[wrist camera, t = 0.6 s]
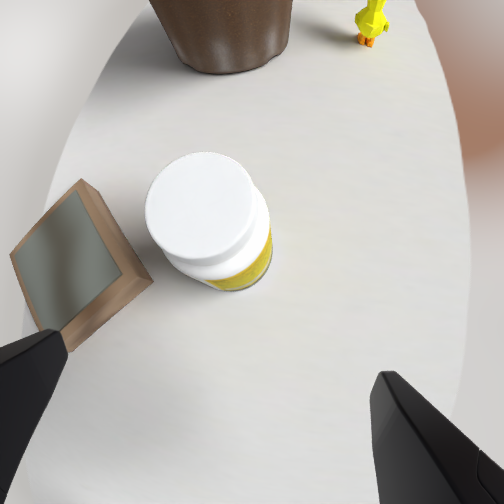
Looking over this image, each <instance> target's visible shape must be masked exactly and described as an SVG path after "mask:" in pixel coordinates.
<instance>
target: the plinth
mask: <svg viewBox="0 0 504 504" xmlns="http://www.w3.org/2000/svg"><path fill="white" fill-rule="evenodd" d="M10 258H11V261H12V264H13V267H14V270H15V273H16V276H17V279H18V281H19V284H20V287H21V289H22V292H23V294H24V297H25V300H26V302H27V304H28V307H29V309H30V312H31V314H32V316H33V318H34V321H35V323H36V325H37V327H38V329H39V332H40V331H43V330H45V329H48V328H51V329H54V330H58V331H59V332H60V333H61V334H62V337H63V340H64V343H65V346H66V348H67V351H68V352H72V351H74V350H75V349H76V348H77V347H78V346H79V345H80V344H82V343H83V342H84V341H85V340H86V339H87V338H88V337H89V336H91V335H92V334H93V333H94V332H95V331H96V330H98V329H99V328H100V327H101V326H102V325H103V324H104V323H106V322H107V321H108V320H109V319H110V318H111V317H113V316H114V315H115V314H116V313H117V312H118V311H120V310H121V309H122V308H123V307H124V306H126V305H127V304H128V303H129V302H130V301H131V300H133V299H134V298H135V297H136V296H137V295H139V294H140V293H141V292H142V291H143V290H145V289H146V288H147V287H148V286H149V285H151V284H152V283H153V282H154V281H153V280H152V278H151V277H150V275H149V274H148V272H147V271H146V269H145V268H144V266H143V264H142V263H141V261H140V260H139V258H138V257H137V255H136V254H135V252H134V250H133V249H132V247H131V246H130V244H129V242H128V241H127V239H126V237H125V236H124V234H123V233H122V231H121V229H120V228H119V226H118V224H117V223H116V221H115V219H114V217H113V216H112V214H111V212H110V211H109V209H108V207H107V205H106V204H105V202H104V200H103V198H102V197H101V195H100V193H99V191H97V190H96V189H95V188H93V187H92V186H91V185H89V184H88V183H87V182H85V181H84V180H83V179H82V178H81V179H80V180H79V181H78V182H76V183H75V184H74V185H73V186H72V187H71V188H70V189H69V190H68V191H67V192H66V193H65V194H64V195H63V196H62V197H61V198H60V199H59V200H58V201H57V202H56V203H55V204H54V205H53V206H52V207H51V208H50V209H49V210H48V211H47V212H46V213H45V214H44V215H43V217H42V218H41V219H40V220H39V221H38V222H37V223H36V224H35V225H34V226H33V227H32V229H31V230H30V231H29V232H28V233H27V235H25V237H24V238H23V239H22V240H21V241H20V242H19V244H18V245H17V246H16V247H15V248H14V250H13V251H12V252H11V253H10Z"/></svg>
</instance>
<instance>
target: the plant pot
mask: <svg viewBox="0 0 504 504" xmlns="http://www.w3.org/2000/svg"><path fill="white" fill-rule="evenodd" d="M149 1H150V3H151V5H152V7H153V9H154V10H155V12H156V14H157V16H158V18H159V20H160V22H161V24H162V26H163V27H164V29H165V31H166V33H167V35H168V37H169V39H170V41H171V43H172V45H173V47H174V49H175V51H176V53H177V55H178V57H179V59H180V60H181V61H182V62H183V63H184V64H188V65H189V66H191V67H192V68H194V69H195V70H197V71H200V72H205V73H215V74H224V73H235V72H241V71H246V70H250V69H254V68H257V67H260V66H262V65H264V64H266V63H267V62H268V61H269V60H270V59H271V58H272V57H274V56H275V55H280V54H281V53H282V52H283V51H284V49H285V47H286V46H287V43H288V38H289V28H290V19H291V10H292V1H293V0H149Z"/></svg>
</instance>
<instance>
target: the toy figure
mask: <svg viewBox="0 0 504 504" xmlns="http://www.w3.org/2000/svg"><path fill="white" fill-rule="evenodd" d="M385 2H386V0H368V3H367V7H365V8H364V9H362V10H361V11H360V12H358V14H356V16H355V23H356V24H357V26H358V28H359V30H360V33H358V37H357V38H358V41H359V44H361V45H364V43H365V39H366V43H367V46H368V47H372V45H373V43H374V38H375V37H376V36H378V35H380V34H381V33H382V32H383V31H384V30H385V31H386V32H387V31H388V28H389V22H387V20H386V18H385V16H384V14H383V12H382V9H383V7H384V4H385ZM366 37H367V38H366Z"/></svg>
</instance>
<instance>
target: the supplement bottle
mask: <svg viewBox="0 0 504 504" xmlns="http://www.w3.org/2000/svg"><path fill="white" fill-rule="evenodd" d="M145 221H146V225H147V228H148V231H149V233H150V235H151V236H152V238H153V240H154V241H155V242H156V243H157V245H159V246H160V247H161V248H162V250H163V252H164V254H165V256H166V257H167V259H168V260H169V261H170V262H171V264H172V265H174V266H175V267H176V268H177V269H178V270H179V271H181V272H182V273H184V274H186V275H187V276H190V277H192V278H194V279H196V280H198V281H200V282H202V283H205V284H207V285H209V286H210V287H212V288H215V289H218V290H221V291H227V292H236V291H242V290H245V289H248V288H250V287H252V286H253V285H255V284H256V283H257V282H259V281H260V280H261V279H262V277H263V276H264V275H265V273H266V272H267V270H268V268H269V266H270V263H271V258H272V238H271V228H270V216H269V211H268V208H267V205H266V202H265V200H264V198H263V196H262V195H261V193H260V192H259V191H258V189H257V188H256V187H255V186H254V185H253V183H252V180H251V178H250V176H249V175H248V173H247V172H246V170H245V169H244V168H243V167H242V166H241V165H240V164H239V163H237V162H236V161H235V160H233V159H231V158H230V157H228V156H225V155H222V154H219V153H214V152H197V153H192V154H188V155H185V156H183V157H180V158H178V159H176V160H175V161H173V162H171V163H170V164H169V165H167V166H166V167H165V168H164V169H163V170H162V171H161V172H160V173H159V174H158V175H157V177H156V178H155V180H154V181H153V183H152V184H151V186H150V188H149V191H148V194H147V197H146V202H145Z"/></svg>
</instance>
